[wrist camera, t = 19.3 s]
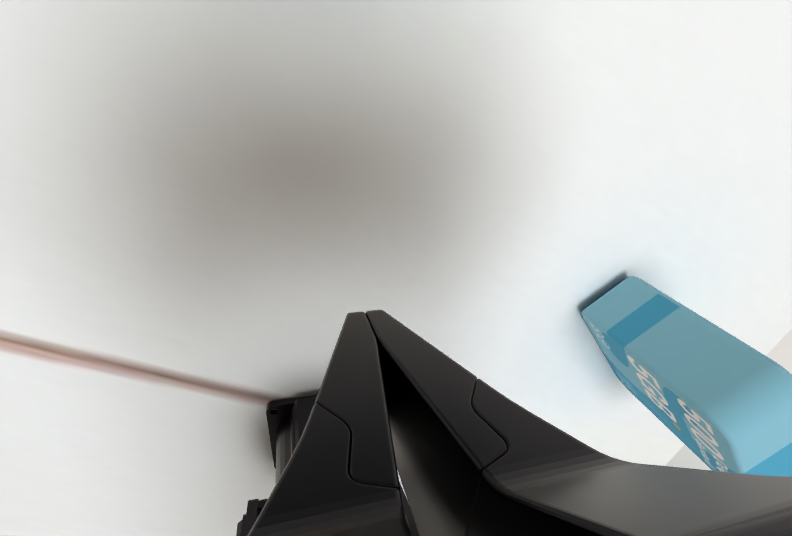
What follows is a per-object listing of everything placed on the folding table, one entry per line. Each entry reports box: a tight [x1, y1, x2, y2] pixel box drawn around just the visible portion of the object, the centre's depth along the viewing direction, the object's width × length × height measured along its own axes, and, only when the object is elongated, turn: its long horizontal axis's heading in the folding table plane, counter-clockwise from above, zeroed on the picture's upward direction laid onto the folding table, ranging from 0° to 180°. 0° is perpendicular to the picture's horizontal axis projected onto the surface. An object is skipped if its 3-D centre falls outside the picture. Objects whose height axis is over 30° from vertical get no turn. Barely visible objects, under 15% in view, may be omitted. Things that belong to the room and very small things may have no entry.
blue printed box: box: [581, 276, 792, 476], centre depth 27 cm, size 12×4×12 cm, turn 37°
